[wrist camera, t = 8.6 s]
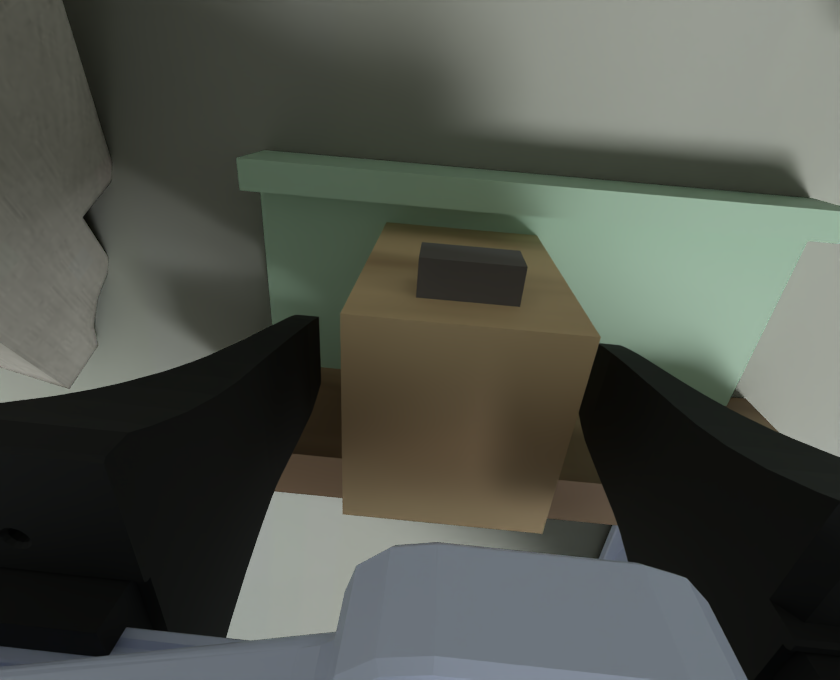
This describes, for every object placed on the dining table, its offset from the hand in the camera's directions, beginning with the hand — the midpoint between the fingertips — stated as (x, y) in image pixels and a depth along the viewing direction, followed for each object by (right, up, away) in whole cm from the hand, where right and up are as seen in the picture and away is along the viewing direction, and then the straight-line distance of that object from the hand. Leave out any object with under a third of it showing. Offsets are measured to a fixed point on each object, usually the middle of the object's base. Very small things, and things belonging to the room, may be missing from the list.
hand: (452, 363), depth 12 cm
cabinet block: (0, +2, +3) cm, 3 cm away
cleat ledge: (+2, +2, +3) cm, 4 cm away
